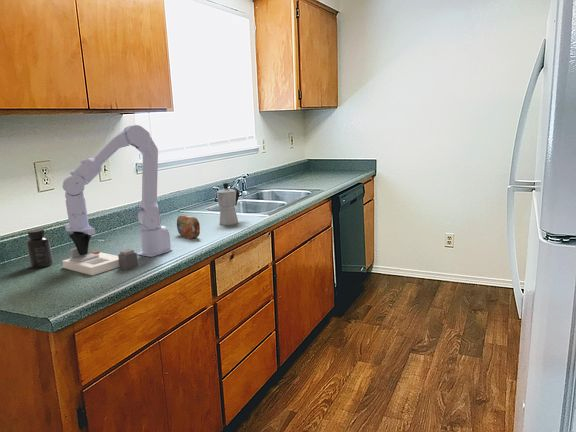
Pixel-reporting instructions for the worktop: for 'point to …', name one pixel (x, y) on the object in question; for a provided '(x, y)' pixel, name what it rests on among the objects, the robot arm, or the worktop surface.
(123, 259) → the plug
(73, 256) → the shutter
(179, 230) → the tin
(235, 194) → the coffee maker
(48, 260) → the supplement bottle
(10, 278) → the worktop surface
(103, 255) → the socket plate
